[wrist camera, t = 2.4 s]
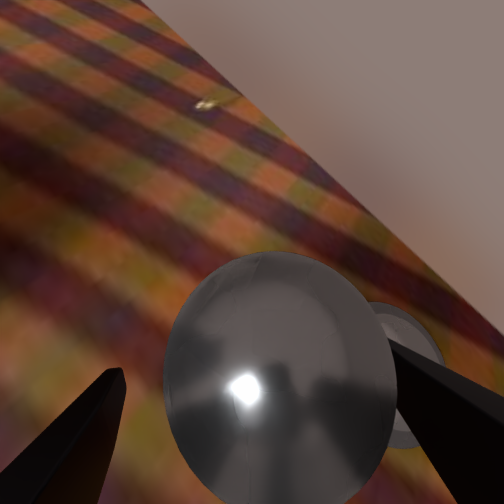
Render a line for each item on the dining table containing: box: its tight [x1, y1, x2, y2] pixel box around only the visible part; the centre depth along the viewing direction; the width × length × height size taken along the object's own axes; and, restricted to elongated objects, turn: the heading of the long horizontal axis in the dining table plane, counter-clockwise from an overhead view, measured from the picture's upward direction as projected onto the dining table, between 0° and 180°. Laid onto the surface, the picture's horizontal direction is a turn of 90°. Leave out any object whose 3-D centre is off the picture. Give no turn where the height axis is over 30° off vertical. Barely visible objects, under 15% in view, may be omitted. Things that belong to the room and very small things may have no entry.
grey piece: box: [163, 251, 397, 504], centre depth 10 cm, size 5×5×12 cm
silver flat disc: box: [368, 302, 446, 449], centre depth 16 cm, size 9×9×1 cm
